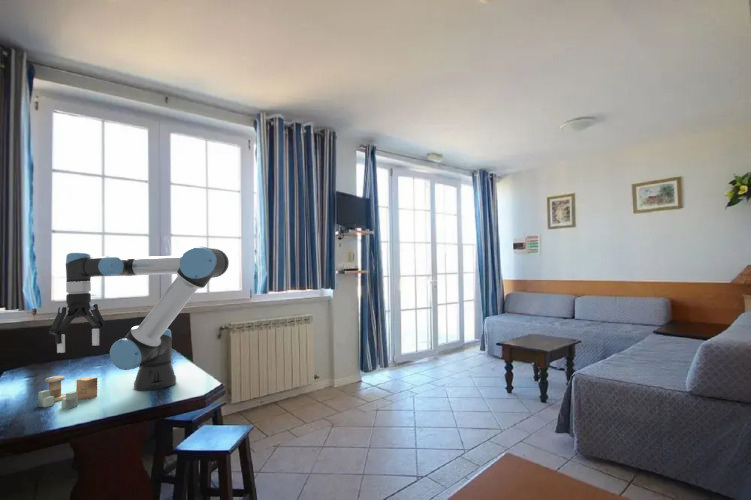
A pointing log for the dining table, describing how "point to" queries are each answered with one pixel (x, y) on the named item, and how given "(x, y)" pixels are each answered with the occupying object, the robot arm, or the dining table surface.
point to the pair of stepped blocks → (48, 400)
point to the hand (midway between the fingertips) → (79, 348)
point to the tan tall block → (86, 387)
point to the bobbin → (56, 387)
